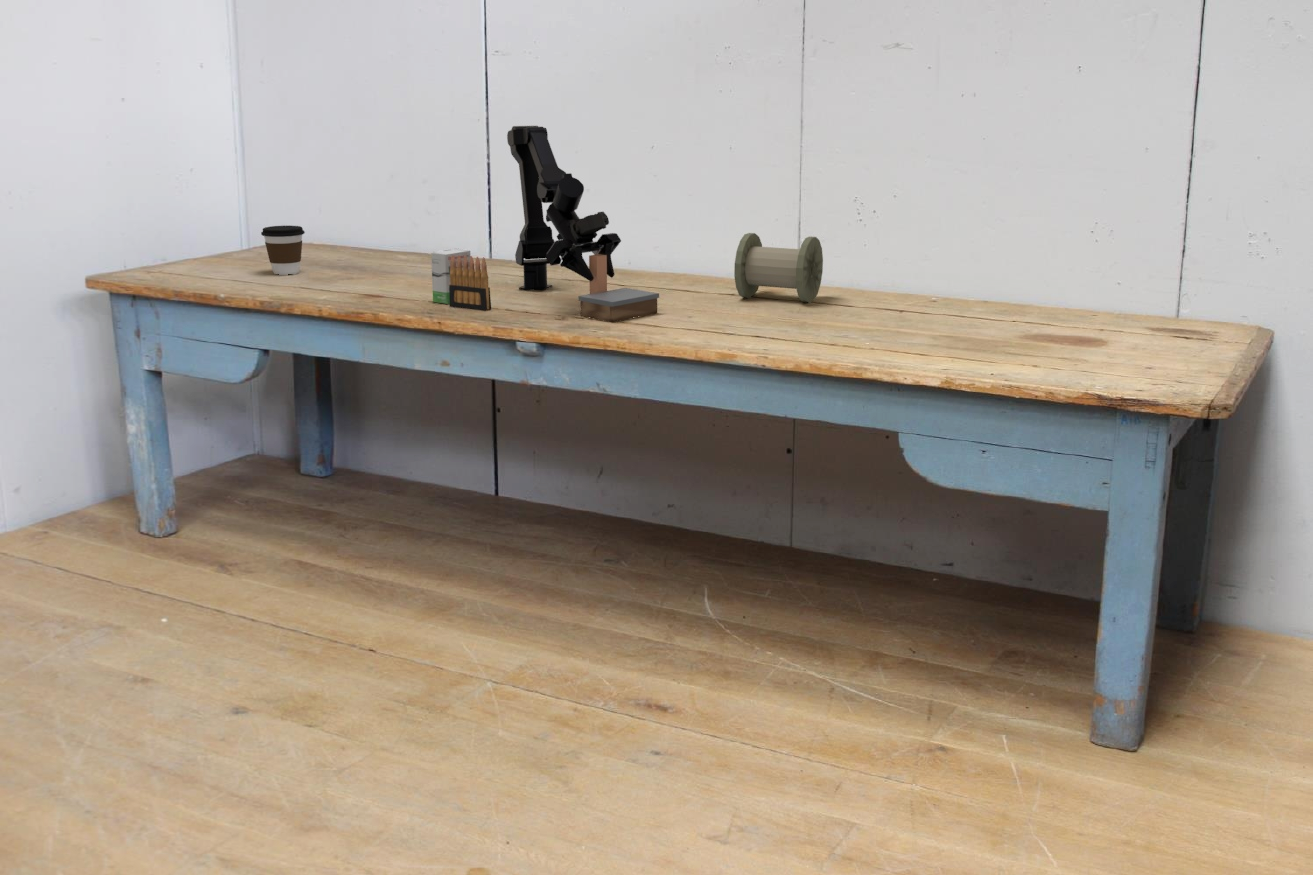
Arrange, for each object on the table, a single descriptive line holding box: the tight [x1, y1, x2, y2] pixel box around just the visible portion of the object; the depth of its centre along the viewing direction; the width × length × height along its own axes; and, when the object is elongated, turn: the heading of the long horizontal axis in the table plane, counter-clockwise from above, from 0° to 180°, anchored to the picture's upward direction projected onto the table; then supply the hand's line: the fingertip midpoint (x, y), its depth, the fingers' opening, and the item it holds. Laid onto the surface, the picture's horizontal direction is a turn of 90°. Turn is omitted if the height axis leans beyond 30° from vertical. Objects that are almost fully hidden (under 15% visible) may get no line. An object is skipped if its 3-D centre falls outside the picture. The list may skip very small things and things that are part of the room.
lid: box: [577, 254, 660, 307], centre depth 285 cm, size 13×15×9 cm
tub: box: [579, 298, 658, 323], centre depth 286 cm, size 10×14×4 cm
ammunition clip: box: [448, 254, 492, 312], centre depth 293 cm, size 11×2×12 cm, turn 60°
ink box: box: [430, 248, 471, 305], centre depth 302 cm, size 9×5×12 cm, turn 144°
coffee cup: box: [261, 225, 306, 276], centre depth 340 cm, size 11×11×12 cm
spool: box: [733, 232, 824, 304], centre depth 303 cm, size 16×15×15 cm
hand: (602, 278), depth 288 cm, fingers open, 6 cm apart
